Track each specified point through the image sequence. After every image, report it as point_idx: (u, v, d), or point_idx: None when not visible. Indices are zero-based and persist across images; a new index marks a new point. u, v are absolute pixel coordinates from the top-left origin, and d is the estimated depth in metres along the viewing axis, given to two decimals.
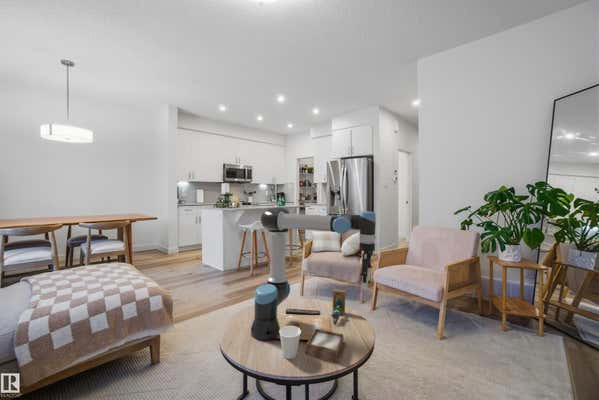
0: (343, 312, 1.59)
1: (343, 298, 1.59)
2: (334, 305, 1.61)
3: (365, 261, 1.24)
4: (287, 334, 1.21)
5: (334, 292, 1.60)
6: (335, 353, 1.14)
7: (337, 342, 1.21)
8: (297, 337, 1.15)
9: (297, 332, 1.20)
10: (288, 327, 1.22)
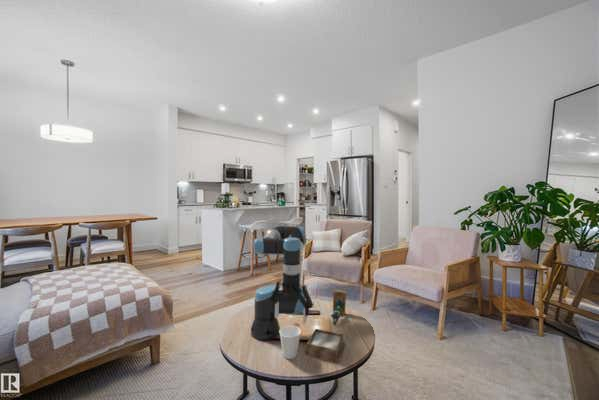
0: (343, 313, 1.58)
1: (343, 298, 1.59)
2: (334, 305, 1.60)
3: None
4: (287, 334, 1.21)
5: (334, 292, 1.59)
6: (335, 353, 1.14)
7: (337, 342, 1.21)
8: (297, 337, 1.15)
9: (297, 332, 1.20)
10: (288, 327, 1.22)
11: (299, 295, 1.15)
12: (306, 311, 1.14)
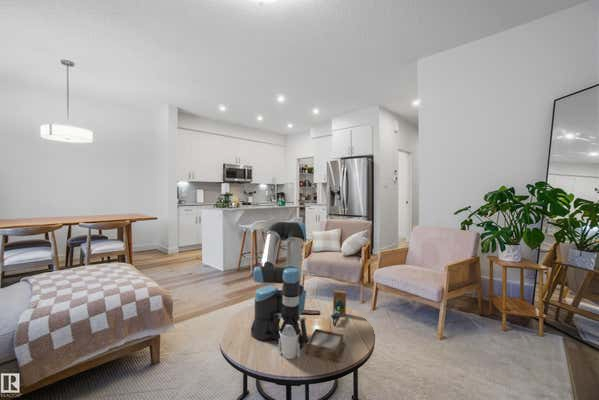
0: (344, 313, 1.57)
1: (344, 299, 1.58)
2: (335, 306, 1.60)
3: None
4: (287, 334, 1.21)
5: (335, 293, 1.59)
6: (335, 353, 1.14)
7: (337, 342, 1.21)
8: (297, 337, 1.14)
9: None
10: (288, 327, 1.22)
11: (296, 328, 1.15)
12: (300, 345, 1.15)
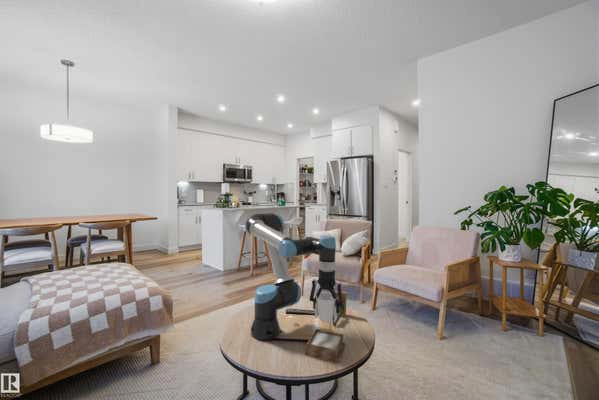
0: (344, 314, 1.57)
1: (344, 299, 1.57)
2: None
3: None
4: None
5: None
6: (335, 353, 1.14)
7: (337, 342, 1.21)
8: (334, 301, 1.18)
9: (332, 298, 1.24)
10: (323, 293, 1.26)
11: (333, 292, 1.19)
12: (337, 309, 1.19)
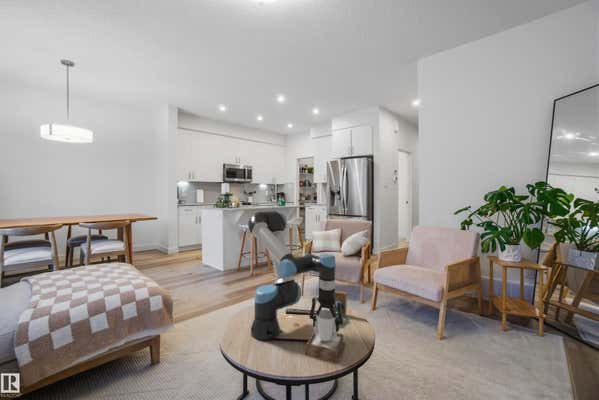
0: (344, 314, 1.56)
1: (344, 300, 1.57)
2: (335, 307, 1.59)
3: None
4: (322, 318, 1.26)
5: (335, 293, 1.58)
6: (335, 353, 1.14)
7: (337, 342, 1.21)
8: (334, 320, 1.19)
9: (332, 316, 1.25)
10: (323, 311, 1.26)
11: (333, 311, 1.20)
12: (337, 327, 1.20)
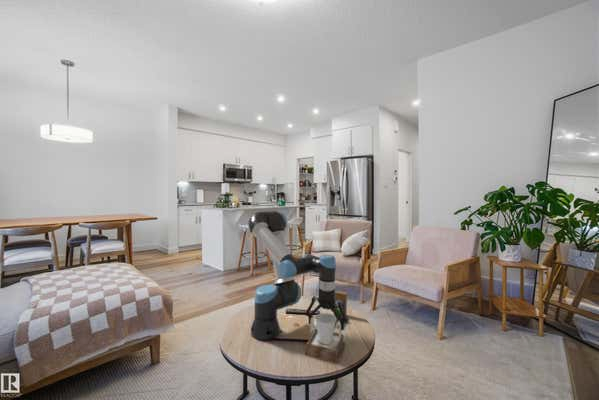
0: None
1: (344, 300, 1.56)
2: None
3: (311, 302, 1.24)
4: (321, 322, 1.26)
5: (335, 294, 1.57)
6: (335, 353, 1.14)
7: (337, 342, 1.21)
8: (333, 323, 1.19)
9: (332, 319, 1.25)
10: (322, 314, 1.26)
11: (335, 310, 1.19)
12: (342, 326, 1.19)
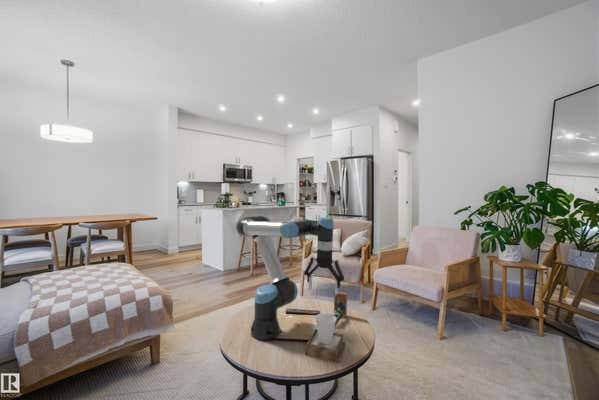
0: (344, 315, 1.55)
1: (344, 300, 1.56)
2: (335, 307, 1.58)
3: None
4: (321, 322, 1.26)
5: None
6: (335, 353, 1.14)
7: (337, 342, 1.21)
8: (333, 323, 1.19)
9: (332, 319, 1.25)
10: (322, 314, 1.26)
11: (332, 269, 1.27)
12: (338, 283, 1.26)
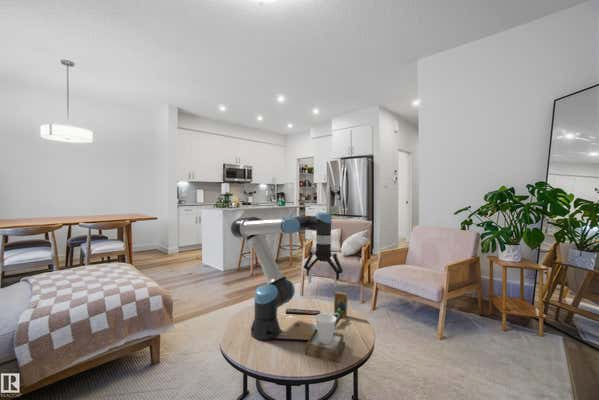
0: (345, 315, 1.55)
1: (345, 301, 1.55)
2: (336, 307, 1.57)
3: None
4: (321, 322, 1.26)
5: (335, 294, 1.56)
6: (335, 353, 1.14)
7: (337, 342, 1.21)
8: (333, 323, 1.19)
9: (331, 319, 1.25)
10: (322, 314, 1.26)
11: (331, 262, 1.31)
12: (337, 276, 1.30)
